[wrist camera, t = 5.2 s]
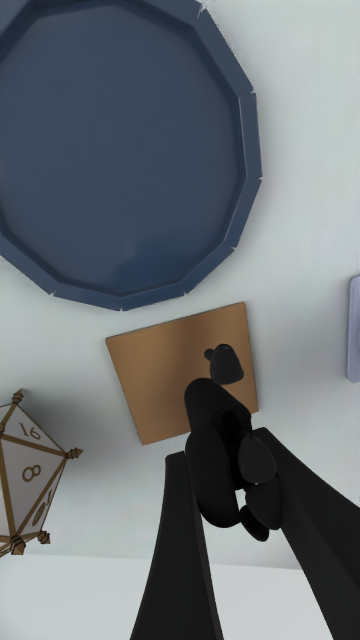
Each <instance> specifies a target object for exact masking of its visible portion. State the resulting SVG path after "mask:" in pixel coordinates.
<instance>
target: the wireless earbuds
mask: <svg viewBox="0 0 360 640" xmlns="http://www.w3.org/2000/svg"><path fill="white" fill-rule="evenodd" d="M203 355H204V357H205V358H206V359H207V360H208V361H210V369H209V371H210V376H211V379H210V378H205V377H204V378H197V379H195V380H193V381H192V382H191V383H190V384H189V385H188V386H187V388H186V390H185V393H184V403H185V407H186V412H187V416H188V420H189V424H190V429H191V433H190V435H189V437H188V439H187V442H186V446H185V456H186V461H187V465H188V469H189V473H190V477H191V481H192V485H193V489H194V493H195V497H196V501H197V505H198V508H199V511H200V513H201V514H202V516H203V517H204V518H205V520H206V521H208V522H209V523H210V524H212V525H214V526H216V527H220V528H229V527H232V526H234V525H236V524H238V523H240V522H241V523H242V525H243V526H244V528H245V529H246V530H247V531H248V533H249V534H250V535H251V536H252V537H254V538H255V539H256V540H258V541H262V542H264V541H266V540H267V539H268V537H269V529H271V530H278V529H279V528H280V527H281V526H282V522H283V509H282V496H281V490H280V486H279V483H278V480H277V478H276V476H275V474H276V472H277V464H276V462H275V460H274V458H273V456H272V453H271V451H270V450H269V448H268V446H267V444H266V443H265V441H264V440H263V439H262V438H261V437H260V436H259V435H257V434H254V433H253V430H252V425H251V417H252V416H251V413H250V411H249V410H248V409H247V408H246V407H245V406H244V405H243V404H242V403H241V402H239V401H238V400H237V399H236V398H235V397H234V396H232V395H231V394H230V393H229V392H228V391H227V390H225V389H224V388H223V387H222V386H221V385H229V384H232V383H235V382H238V381H240V380H242V379H243V377H244V370H243V369H242V367H241V364H240V361H239V359H238V357H237V355H236V353H235V351H234V349H233V348H232V347H231V346H230V345H228V344H219V345H218V346H217V347H216V348H215V350H214V349H212V348H207V349H206V350H205V351H204V353H203ZM255 483H257V485H256V484H255ZM240 489H244V491H245V492H246V495H245V500H246V504H247V505H244V506H243V507H242V508H241V509H240V511H239V508H238V503H237V498H236V493H235V491H236V490H240Z"/></svg>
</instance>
